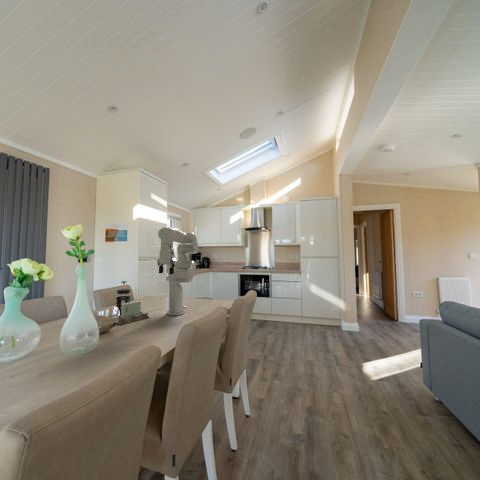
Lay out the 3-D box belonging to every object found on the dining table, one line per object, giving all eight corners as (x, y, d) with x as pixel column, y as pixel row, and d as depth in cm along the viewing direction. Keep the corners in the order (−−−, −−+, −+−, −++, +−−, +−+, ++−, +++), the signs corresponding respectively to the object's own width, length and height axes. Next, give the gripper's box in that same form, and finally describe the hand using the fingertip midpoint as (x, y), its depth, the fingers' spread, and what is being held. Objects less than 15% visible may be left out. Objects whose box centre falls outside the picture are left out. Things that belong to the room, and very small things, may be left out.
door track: (138, 315, 168) (139, 311, 168) (149, 317, 162) (149, 313, 162) (110, 322, 151) (110, 317, 151) (120, 325, 145) (120, 320, 145)
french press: (120, 312, 176) (121, 280, 177) (133, 312, 175) (134, 280, 176) (110, 316, 164) (112, 282, 165) (124, 316, 164) (125, 282, 165)
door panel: (137, 316, 162) (138, 300, 163) (140, 316, 161) (140, 301, 161) (120, 320, 152) (121, 304, 153) (123, 321, 151) (124, 304, 151)
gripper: (180, 246, 154) (180, 274, 154) (162, 246, 164) (161, 272, 163) (171, 246, 148) (170, 274, 147) (153, 246, 157) (152, 273, 157)
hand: (166, 273), depth 155 cm, fingers open, 9 cm apart
